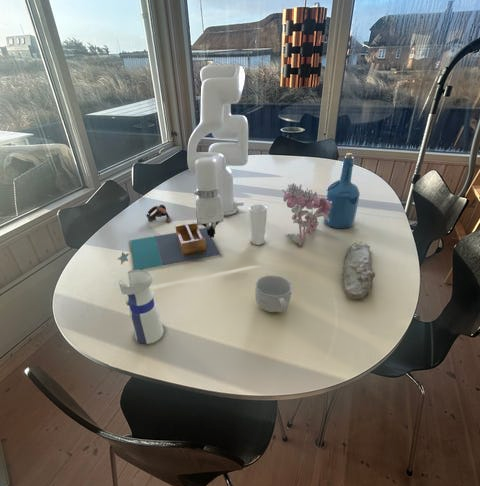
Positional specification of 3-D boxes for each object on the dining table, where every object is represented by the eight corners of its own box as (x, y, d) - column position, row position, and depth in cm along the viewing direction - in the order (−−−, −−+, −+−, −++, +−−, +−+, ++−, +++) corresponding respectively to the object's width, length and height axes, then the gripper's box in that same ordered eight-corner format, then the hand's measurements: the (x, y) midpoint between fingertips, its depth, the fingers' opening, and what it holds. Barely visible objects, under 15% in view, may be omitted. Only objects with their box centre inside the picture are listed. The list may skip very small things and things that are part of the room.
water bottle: (126, 341, 88) (102, 264, 74) (145, 320, 94) (125, 246, 80) (152, 348, 85) (132, 271, 71) (169, 327, 92) (154, 252, 78)
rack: (197, 233, 137) (196, 221, 134) (206, 251, 125) (205, 239, 122) (176, 237, 135) (175, 225, 132) (183, 255, 123) (181, 243, 120)
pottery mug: (169, 226, 146) (158, 213, 140) (154, 233, 150) (141, 221, 144) (175, 209, 154) (163, 197, 148) (159, 216, 157) (148, 204, 152)
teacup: (253, 295, 103) (253, 275, 98) (286, 293, 103) (288, 272, 99) (259, 326, 91) (259, 304, 87) (296, 323, 92) (299, 301, 88)
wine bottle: (355, 219, 147) (369, 151, 130) (351, 231, 137) (365, 159, 120) (325, 214, 152) (335, 148, 135) (319, 226, 142) (328, 156, 125)
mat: (206, 229, 142) (206, 227, 142) (220, 255, 123) (220, 254, 123) (131, 241, 134) (130, 240, 134) (134, 272, 115) (134, 270, 115)
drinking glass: (267, 239, 133) (268, 205, 125) (263, 247, 128) (264, 212, 119) (252, 237, 135) (252, 203, 126) (247, 245, 130) (246, 210, 121)
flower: (346, 244, 125) (345, 178, 121) (293, 249, 119) (291, 179, 115) (319, 242, 144) (317, 185, 140) (272, 246, 138) (269, 186, 134)
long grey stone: (372, 252, 125) (345, 249, 128) (374, 239, 123) (347, 237, 126) (373, 304, 97) (339, 299, 100) (376, 289, 94) (340, 284, 98)
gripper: (190, 198, 116) (195, 243, 126) (229, 193, 119) (231, 237, 130) (186, 191, 122) (191, 235, 132) (224, 186, 125) (226, 229, 136)
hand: (211, 236), depth 131 cm, fingers closed
